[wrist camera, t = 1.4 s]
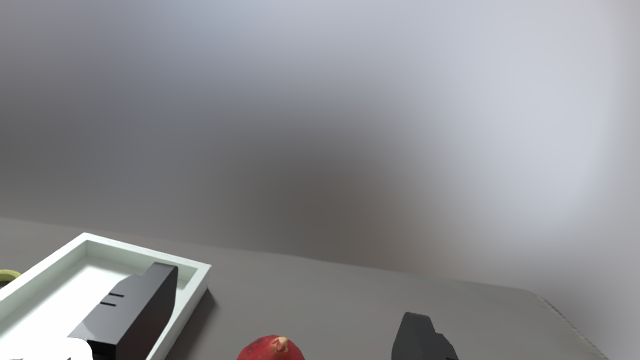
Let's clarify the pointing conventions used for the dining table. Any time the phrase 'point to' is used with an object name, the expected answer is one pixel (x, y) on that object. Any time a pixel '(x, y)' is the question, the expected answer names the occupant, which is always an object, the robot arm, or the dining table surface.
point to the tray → (87, 293)
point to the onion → (271, 349)
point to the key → (8, 275)
